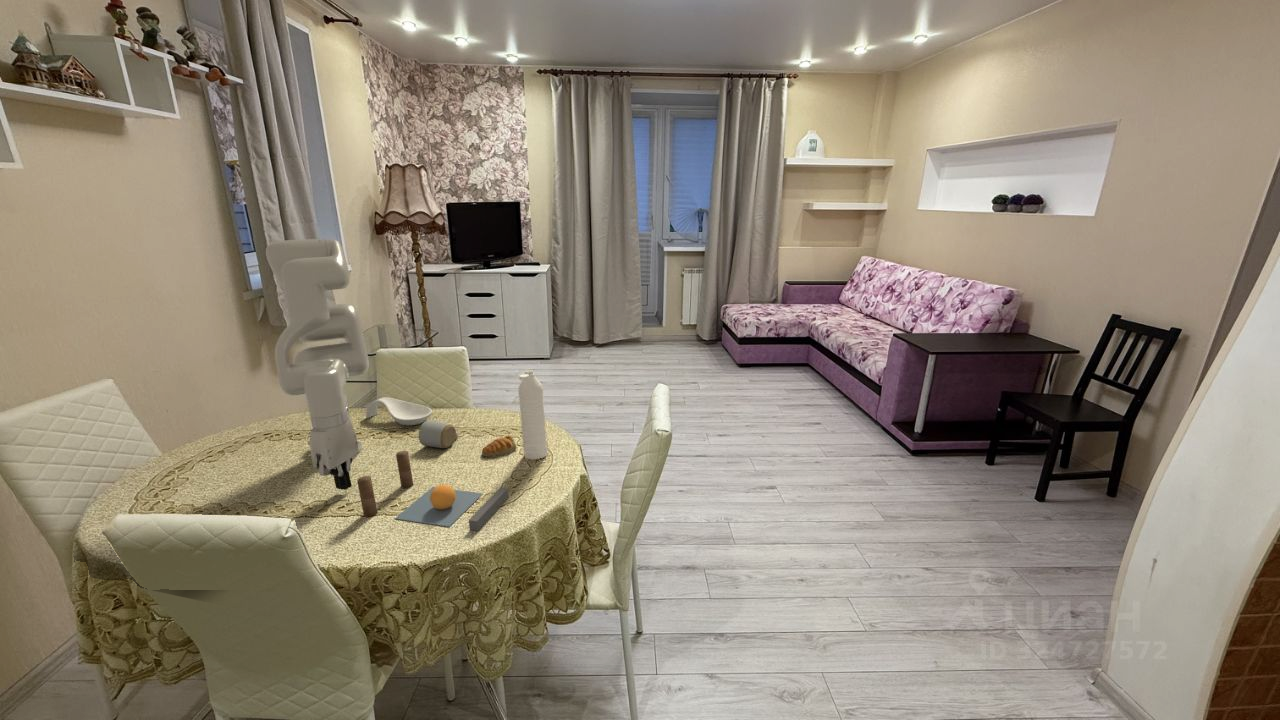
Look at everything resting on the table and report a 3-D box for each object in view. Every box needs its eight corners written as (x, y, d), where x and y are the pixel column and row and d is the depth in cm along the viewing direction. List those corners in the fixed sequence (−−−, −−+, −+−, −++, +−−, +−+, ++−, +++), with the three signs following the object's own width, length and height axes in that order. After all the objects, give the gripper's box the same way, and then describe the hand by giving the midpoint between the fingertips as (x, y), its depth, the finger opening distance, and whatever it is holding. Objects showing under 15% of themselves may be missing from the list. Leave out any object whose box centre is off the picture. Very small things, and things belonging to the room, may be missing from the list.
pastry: (489, 461, 145) (488, 449, 144) (477, 454, 150) (476, 441, 149) (519, 450, 152) (517, 438, 151) (506, 443, 156) (505, 431, 155)
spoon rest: (440, 418, 176) (437, 397, 174) (415, 432, 165) (412, 411, 163) (384, 410, 183) (380, 391, 181) (356, 423, 172) (353, 403, 170)
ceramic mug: (444, 453, 150) (440, 428, 148) (419, 450, 153) (416, 425, 150) (465, 438, 160) (462, 414, 158) (442, 435, 162) (439, 412, 160)
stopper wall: (469, 530, 114) (468, 520, 114) (501, 496, 127) (500, 487, 127) (478, 531, 114) (476, 521, 113) (508, 497, 127) (507, 488, 126)
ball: (448, 515, 120) (427, 513, 121) (462, 502, 125) (441, 500, 126) (444, 493, 118) (422, 491, 120) (458, 481, 124) (437, 479, 125)
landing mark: (395, 519, 119) (394, 518, 119) (432, 487, 132) (432, 486, 132) (449, 527, 116) (449, 526, 116) (482, 494, 129) (482, 493, 129)
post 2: (398, 487, 132) (393, 455, 130) (406, 482, 135) (401, 450, 132) (408, 489, 132) (403, 456, 129) (415, 483, 134) (410, 451, 132)
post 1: (361, 516, 120) (354, 481, 118) (369, 509, 123) (363, 475, 120) (371, 518, 120) (364, 482, 117) (380, 511, 122) (373, 476, 120)
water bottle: (528, 449, 152) (521, 366, 144) (550, 450, 151) (544, 367, 144) (518, 463, 143) (510, 376, 136) (541, 464, 143) (534, 377, 135)
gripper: (341, 406, 132) (353, 471, 138) (290, 430, 119) (306, 502, 124) (366, 408, 131) (378, 474, 136) (317, 433, 117) (332, 505, 122)
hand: (343, 487), depth 130 cm, fingers closed
